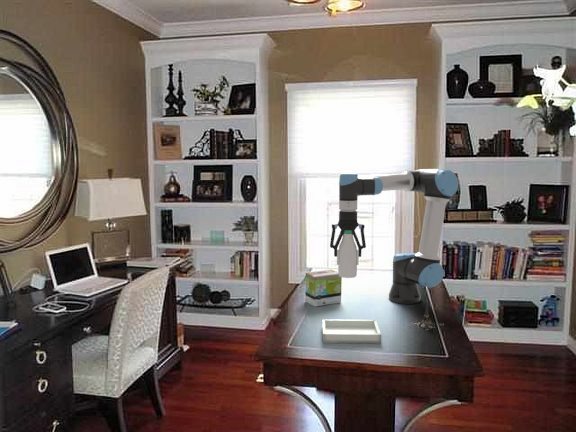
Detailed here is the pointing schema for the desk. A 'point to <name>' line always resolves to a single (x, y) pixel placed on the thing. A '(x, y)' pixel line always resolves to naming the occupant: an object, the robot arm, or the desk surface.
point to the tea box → (323, 287)
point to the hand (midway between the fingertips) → (347, 264)
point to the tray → (350, 331)
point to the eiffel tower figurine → (426, 321)
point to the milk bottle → (347, 256)
